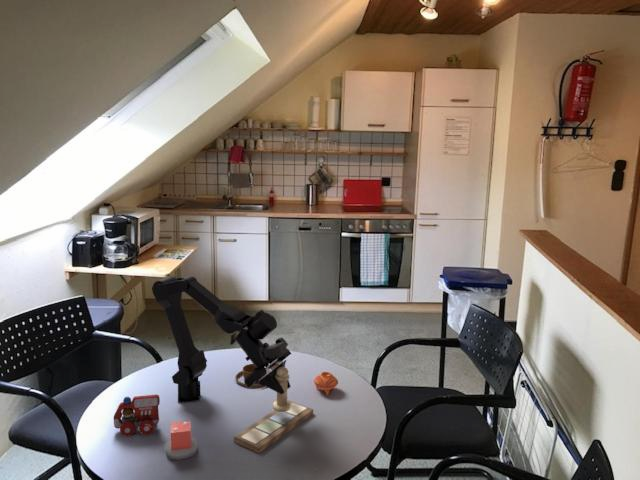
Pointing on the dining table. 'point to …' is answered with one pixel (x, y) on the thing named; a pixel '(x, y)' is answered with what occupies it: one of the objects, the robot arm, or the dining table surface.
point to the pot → (326, 381)
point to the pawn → (282, 378)
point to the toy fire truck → (137, 414)
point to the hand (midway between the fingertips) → (286, 390)
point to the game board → (272, 427)
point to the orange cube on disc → (181, 441)
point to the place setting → (246, 371)
